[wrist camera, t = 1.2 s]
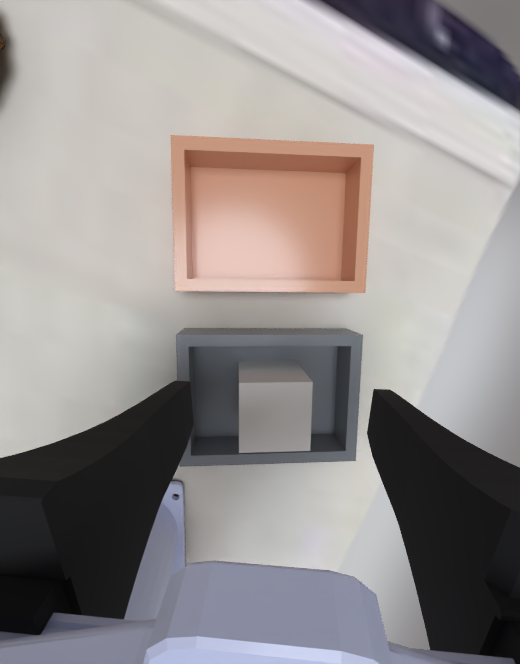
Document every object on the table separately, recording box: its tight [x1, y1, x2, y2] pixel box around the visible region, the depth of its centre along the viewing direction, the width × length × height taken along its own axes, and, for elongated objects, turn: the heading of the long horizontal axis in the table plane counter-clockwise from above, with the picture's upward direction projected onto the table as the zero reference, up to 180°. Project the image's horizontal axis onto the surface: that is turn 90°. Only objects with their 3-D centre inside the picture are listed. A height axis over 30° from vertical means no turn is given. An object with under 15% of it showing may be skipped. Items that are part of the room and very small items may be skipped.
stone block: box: [238, 361, 313, 453], centre depth 20 cm, size 4×4×5 cm
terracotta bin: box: [171, 135, 374, 293], centre depth 20 cm, size 8×11×3 cm
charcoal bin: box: [176, 328, 363, 467], centre depth 21 cm, size 8×11×3 cm
